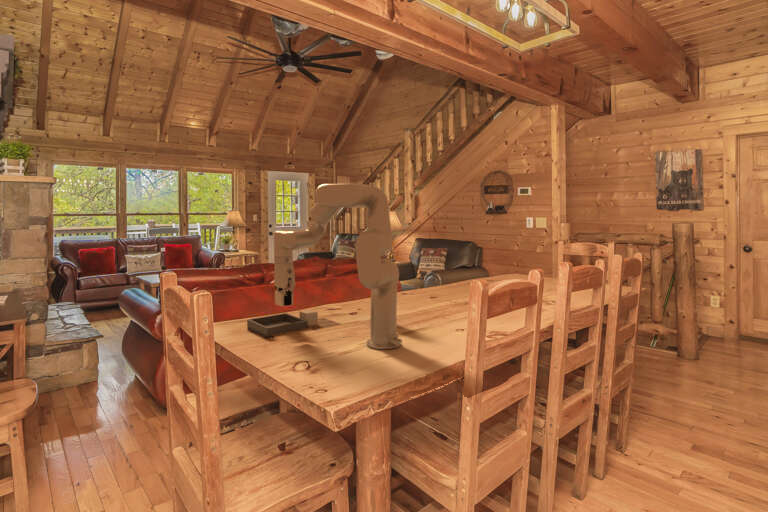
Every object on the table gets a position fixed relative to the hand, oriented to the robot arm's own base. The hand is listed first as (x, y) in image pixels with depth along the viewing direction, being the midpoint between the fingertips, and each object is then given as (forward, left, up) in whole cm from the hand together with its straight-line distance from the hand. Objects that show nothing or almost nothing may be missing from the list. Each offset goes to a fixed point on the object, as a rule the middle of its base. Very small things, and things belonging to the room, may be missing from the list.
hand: (284, 303), depth 187 cm
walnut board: (-6, -13, -11) cm, 18 cm away
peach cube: (0, 0, 0) cm, 0 cm away
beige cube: (-4, -9, -10) cm, 14 cm away
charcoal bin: (0, +3, -11) cm, 11 cm away
